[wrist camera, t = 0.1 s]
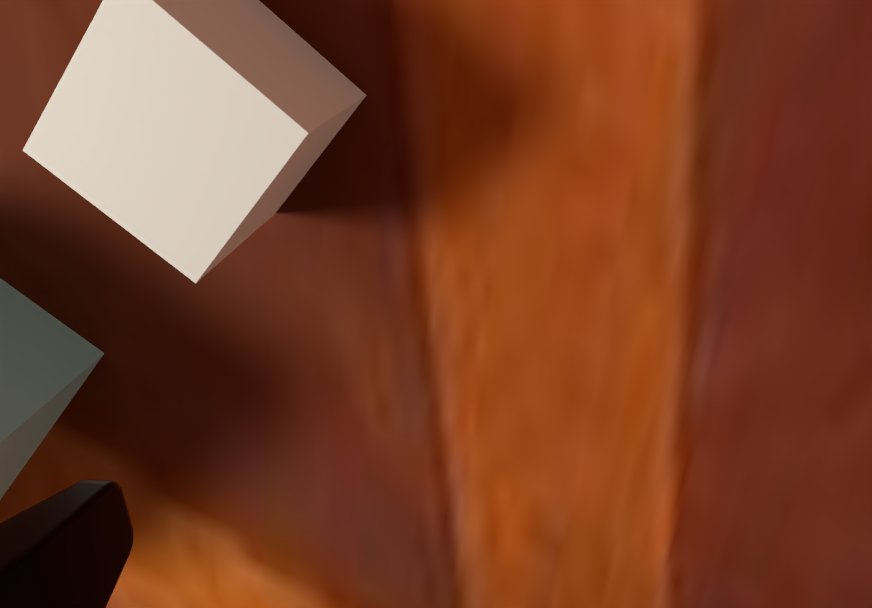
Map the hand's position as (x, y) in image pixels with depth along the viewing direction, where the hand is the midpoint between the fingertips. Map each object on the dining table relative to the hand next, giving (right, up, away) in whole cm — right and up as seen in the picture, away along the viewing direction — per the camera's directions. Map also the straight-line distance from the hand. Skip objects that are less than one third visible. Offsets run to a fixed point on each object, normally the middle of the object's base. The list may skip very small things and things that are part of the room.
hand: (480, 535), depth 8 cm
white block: (-6, +9, +13) cm, 17 cm away
